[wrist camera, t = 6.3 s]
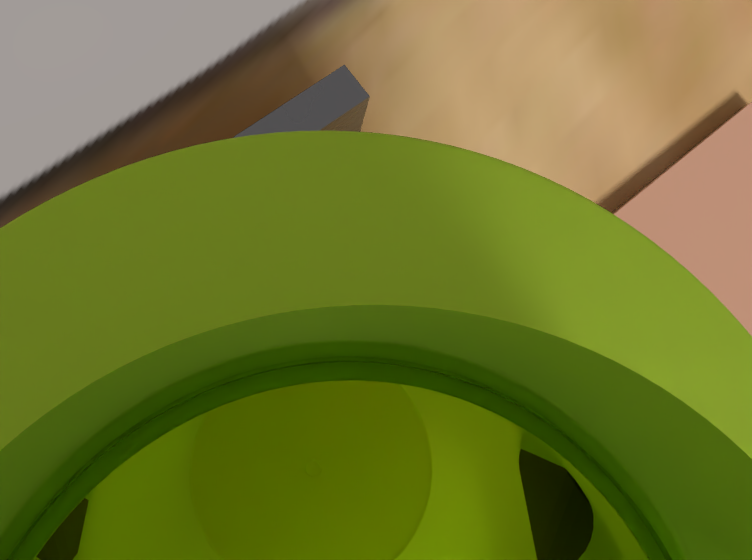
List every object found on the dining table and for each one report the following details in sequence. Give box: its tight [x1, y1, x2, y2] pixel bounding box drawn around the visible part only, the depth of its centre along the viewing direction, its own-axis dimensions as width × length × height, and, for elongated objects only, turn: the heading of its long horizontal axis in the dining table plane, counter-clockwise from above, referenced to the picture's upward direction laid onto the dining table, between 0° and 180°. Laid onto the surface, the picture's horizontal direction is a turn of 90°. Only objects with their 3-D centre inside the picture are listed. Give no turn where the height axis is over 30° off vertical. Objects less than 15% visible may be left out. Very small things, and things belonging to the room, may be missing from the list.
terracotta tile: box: [612, 102, 752, 336], centre depth 24 cm, size 14×14×1 cm
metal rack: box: [233, 65, 370, 138], centre depth 18 cm, size 28×11×4 cm, turn 128°
